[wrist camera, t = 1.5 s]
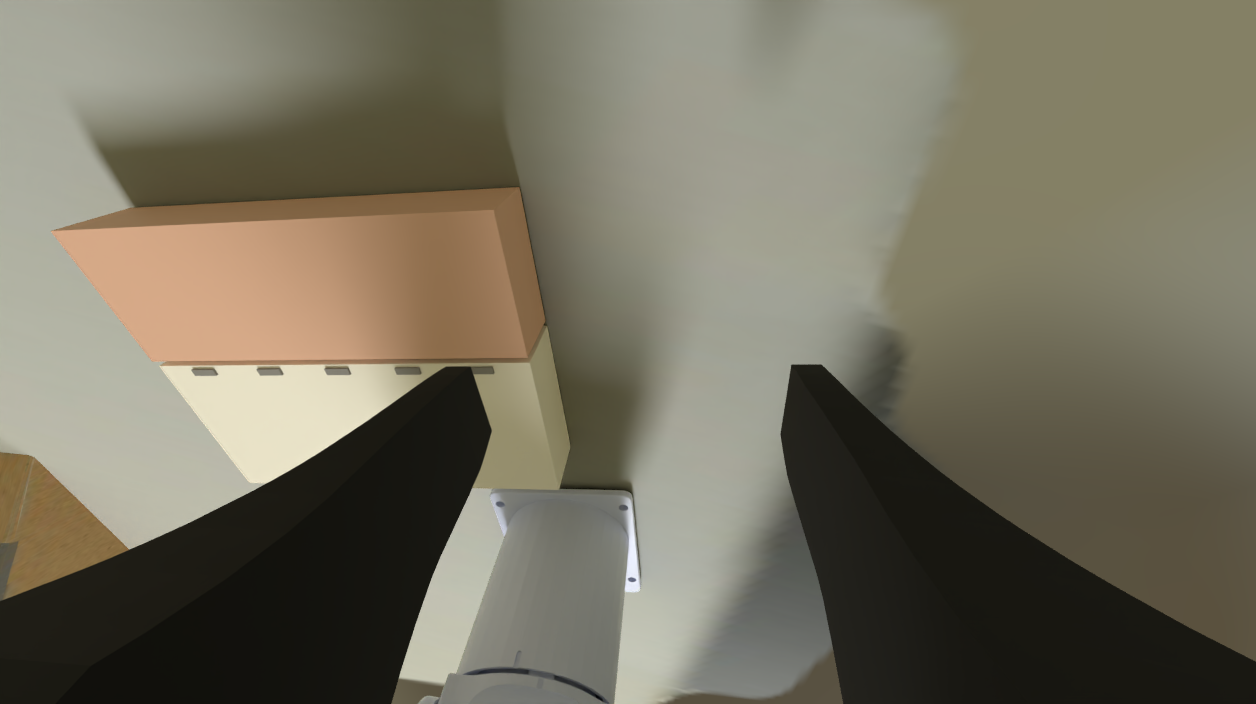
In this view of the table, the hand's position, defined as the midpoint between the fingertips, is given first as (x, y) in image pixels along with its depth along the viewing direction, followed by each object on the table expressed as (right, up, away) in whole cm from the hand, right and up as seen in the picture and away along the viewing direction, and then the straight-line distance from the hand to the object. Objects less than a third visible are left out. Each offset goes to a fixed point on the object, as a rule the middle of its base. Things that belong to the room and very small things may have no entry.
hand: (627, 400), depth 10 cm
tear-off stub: (-12, +5, +8) cm, 15 cm away
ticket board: (-11, -1, +12) cm, 16 cm away
